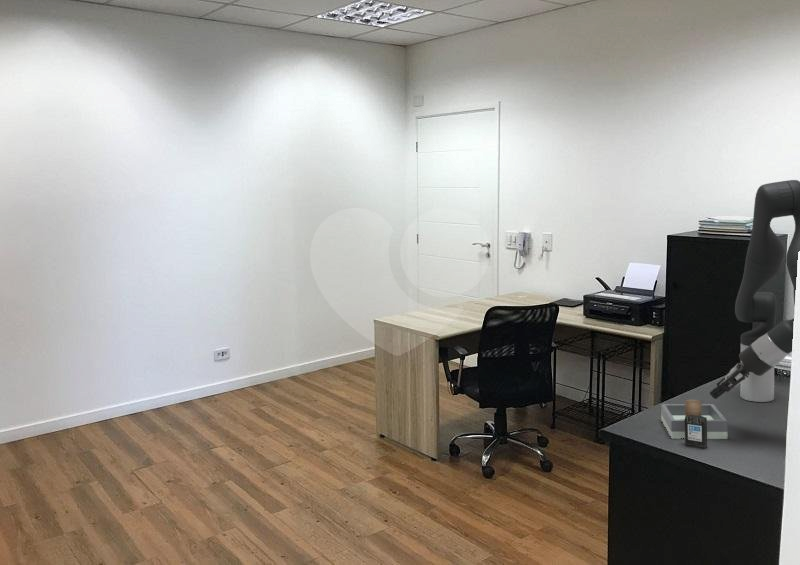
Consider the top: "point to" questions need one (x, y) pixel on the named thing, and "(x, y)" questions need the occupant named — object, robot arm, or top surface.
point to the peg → (692, 407)
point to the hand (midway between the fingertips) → (715, 391)
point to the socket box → (676, 415)
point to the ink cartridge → (695, 431)
